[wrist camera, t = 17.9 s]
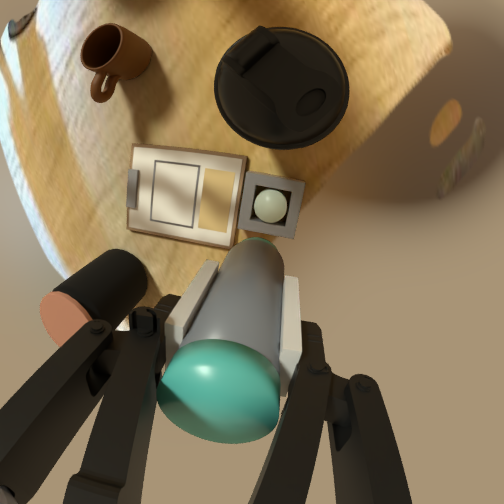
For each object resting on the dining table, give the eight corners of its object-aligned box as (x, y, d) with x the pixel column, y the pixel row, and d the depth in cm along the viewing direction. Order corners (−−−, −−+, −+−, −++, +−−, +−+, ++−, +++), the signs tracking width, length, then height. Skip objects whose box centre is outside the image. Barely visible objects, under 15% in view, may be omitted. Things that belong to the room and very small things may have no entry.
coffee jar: (99, 288, 51) (44, 339, 34) (102, 238, 47) (35, 281, 30) (146, 308, 51) (98, 370, 34) (154, 257, 47) (96, 313, 30)
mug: (144, 106, 38) (111, 100, 30) (105, 107, 39) (69, 103, 30) (157, 37, 34) (129, 18, 25) (118, 41, 34) (86, 27, 26)
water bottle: (284, 163, 40) (282, 183, 18) (232, 114, 38) (171, 82, 16) (335, 115, 36) (390, 83, 15) (282, 66, 35) (276, -14, 13)
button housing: (248, 170, 40) (246, 172, 38) (304, 181, 40) (305, 183, 38) (240, 223, 43) (237, 228, 41) (293, 233, 43) (293, 239, 41)
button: (259, 184, 41) (257, 187, 38) (289, 190, 41) (289, 194, 38) (254, 214, 43) (251, 219, 40) (283, 219, 42) (283, 225, 40)
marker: (233, 226, 21) (155, 351, 8) (291, 240, 21) (295, 386, 8) (223, 278, 23) (157, 425, 10) (277, 291, 23) (262, 451, 10)
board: (134, 143, 41) (129, 143, 39) (247, 156, 40) (246, 156, 38) (128, 227, 46) (124, 230, 44) (233, 248, 45) (231, 251, 43)
